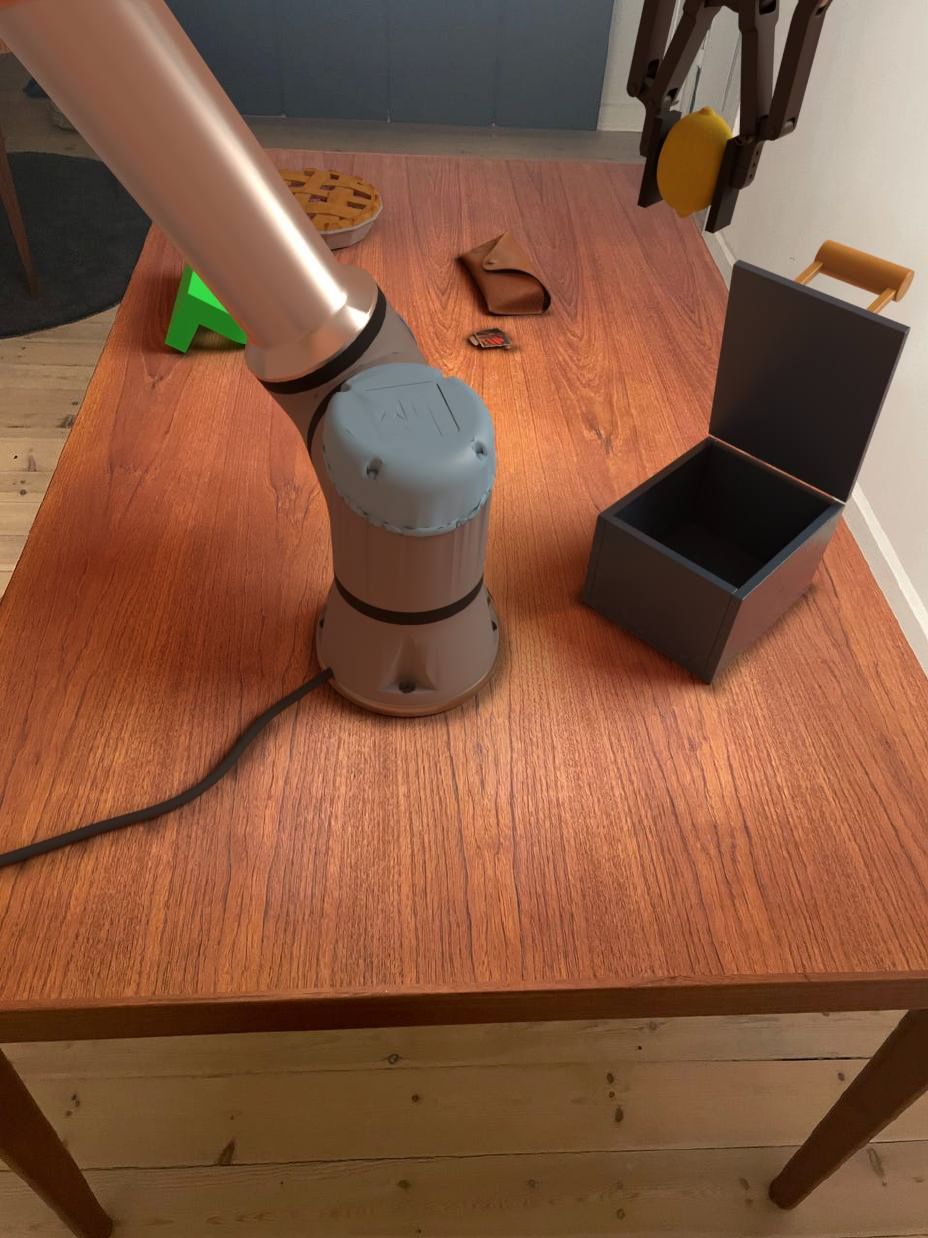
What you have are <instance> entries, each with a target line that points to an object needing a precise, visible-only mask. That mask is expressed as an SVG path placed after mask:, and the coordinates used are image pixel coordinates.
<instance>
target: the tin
mask: <svg viewBox="0 0 928 1238" xmlns="http://www.w3.org/2000/svg"><path fill="white" fill-rule="evenodd" d="M845 508H846V503H844V502H842V501H840V500H839V501H838V500H837V499H836V498H834V497H832V496H830V495H828V494H826V493H824V492H822V491H820V490H818V489H816V488H814V487H812V486H810V485H808V484H806V483H804V482H802V481H800V480H798V479H796V478H794V477H792V476H790V475H788V474H787V473H785V472H783V471H781V470H779V469H777V468H775V467H773V466H771V465H770V466H769V464H767V463H765V462H763V461H761V460H759V459H757V458H755V457H753V456H751V455H749V454H747V453H745V452H743V451H741V450H739V449H737V448H735V447H733V446H731V445H729V444H727V443H725V442H723V441H721V440H719V439H718V438H716V437H714V436H712V435H708V436H706V437H705V438H704V439H702V440H701V441H699V442H697V444H695V445H694V446H692V447H691V448H690V449H688V450H687V451H685V452H684V453H683V454H681V455H680V456H678V457H677V458H675V459H674V460H673V461H671V462H670V463H669V464H667V465H666V466H665V467H663V468H662V469H660V470H658V471H657V472H656V473H655V474H653V475H652V476H651V477H649V478H647V479H646V480H645V481H643V482H642V483H641V484H639V485H637V486H636V487H635V488H633V489H632V490H631V491H629V492H628V493H627V494H625V495H623V496H622V497H621V498H619V499H618V500H616V501H615V502H614V503H612V504H611V505H609V506H608V507H607V508H605V509H603V511H601V512H600V513H598V514H597V517H596V523H595V527H594V532H593V537H592V542H591V546H590V552H589V556H588V562H587V567H586V572H585V577H584V582H583V586H582V591H581V595H580V601H581V602H583V603H584V604H586V605H588V606H589V607H591V608H592V609H594V610H595V611H597V612H598V613H600V614H601V615H603V616H604V617H606V618H607V619H609V620H610V621H612V622H613V623H615V624H616V625H618V626H619V627H621V628H623V629H624V630H625V631H627V632H628V633H631V634H632V635H633V636H634V637H636V638H637V639H639V640H641V641H642V642H644V643H646V644H647V645H648V646H650V647H652V648H653V649H655V650H656V651H658V652H659V653H661V654H662V655H664V656H665V657H667V658H668V659H670V660H671V661H673V662H675V663H676V664H677V665H679V666H680V667H682V668H684V669H685V670H687V671H688V672H690V673H691V674H692V675H694V676H696V677H697V678H699V679H700V680H701V681H703V682H705V683H706V684H708V685H712V684H713V682H715V681H716V680H717V679H718V678H719V677H720V676H721V675H722V674H723V673H724V672H725V671H726V670H727V669H728V668H729V667H730V666H731V665H732V664H733V663H734V662H735V661H736V660H737V659H738V658H739V657H741V655H743V653H744V652H746V651H747V649H749V648H750V646H752V645H753V644H754V642H756V640H757V639H759V638H760V637H761V636H762V635H763V634H764V633H765V632H766V631H767V630H768V629H769V628H770V627H771V626H773V624H775V622H776V621H777V620H778V619H779V618H780V617H781V616H782V615H783V614H784V613H785V612H786V611H788V610H789V608H791V606H792V605H794V603H795V602H796V601H798V599H800V597H801V596H802V595H804V593H806V592H807V591H808V590H809V589H810V587H811V584H812V582H813V579H814V577H815V575H816V573H817V570H818V568H819V565H820V564H821V562H822V560H823V557H824V555H825V552H826V551H827V548H828V546H829V543H830V542H831V539H832V537H833V535H834V533H835V531H836V528H837V526H838V524H839V521H840V519H841V517H842V515H843V512H844V510H845Z"/></svg>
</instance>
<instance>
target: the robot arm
mask: <svg viewBox="0 0 928 1238" xmlns="http://www.w3.org/2000/svg"><path fill="white" fill-rule="evenodd" d="M832 2H834V0H797V3H796V5H795V7H794V10H793V13H792V16H791V20H790V23H789V27H788V32H787V36H786V40H785V43H784V48H783V51H782V56H781V60H780V63H779V64H780V65H779V69H778V73H777V76H776V81H775V86H774V64H775V42H776V41H775V40H776V39H775V38H776V26H777V25H778V22H779V18H780V0H684V3H683V5H682V15H681V17H680V20H679V22H678V24H677V26H676V28H675V31H674V34H673V35H672V38H671V40H670V43H669V45H668V47H667V43H668V39H669V35H670V30H671V27H672V21H673V17H674V13H675V10H676V9H675V8H676V5H677V0H643V5H642V9H641V13H640V14H641V15H640V19H639V24H638V29H637V33H636V38H635V43H634V48H633V53H632V58H631V63H630V67H629V68H630V69H629V73H628V76H627V77H628V78H627V82H626V89H625V90H626V93H627V95H628V96H629V97H630V98H636V99H637V100H638V101H639V102H640V103H642V105H643V106H644V110H645V115H644V121H643V126H642V130H641V131H642V132H641V137H640V142H639V147H638V149H639V156H641V157H644V158H645V164H644V168H643V173H642V178H641V184H640V189H639V192H638V193H639V194H638V199H637V204H636V206H637V207H641V208H644V209H646V208H648V207H651V206H654V205H655V204H657V203H659V202H662V201H664V199H663V198H662V196H661V194H660V191H659V188H658V182H657V166H658V160H659V156H660V153H661V150H662V147H663V144H664V142H665V140H666V138H667V136H668V134H669V132H670V130H671V129H672V127H673V126H674V125H675V124H676V123H677V122H678V121H679V120H680V119H682V114H683V112H682V111H679V110H676V109H671V107H674V106H676V105H678V104H679V103H680V100H679V99H678V97H679V94H680V92H681V90H682V87H683V85H684V83H685V81H686V79H687V77H688V75H689V72H690V70H691V68H692V66H693V64H694V62H695V59H696V57H697V56H698V53H699V51H700V49H701V47H702V44H703V42H704V40H705V38H706V36H707V34H708V32H709V29H710V27H711V25H712V23H713V20H714V18H715V17H716V16H717V15H718V14H719V13H720V11H721V10H722V8H723V7H726V8H727V9H729V10H731V11H732V12H734V13H737V15H738V16H737V27H738V30H739V32H740V35H741V39H740V40H741V41H740V43H741V44H740V80H739V81H740V87H739V130H738V133H739V134H737V135H735V136H733V138H731V139H728V140H727V143H726V147H725V151H724V155H723V159H722V163H721V167H720V171H719V175H718V179H717V183H716V187H715V191H714V195H713V199H712V203H711V205H710V206H709V210H708V215H707V219H706V222H705V228H704V231H705V232H707V233H710V234H713V235H714V234H716V233H717V232H719V231H721V230H723V229H724V228H726V227H728V226H730V225H731V223H732V220H733V216H734V212H735V209H736V205H737V202H738V198H739V194H740V191H741V190H743V189H745V188H747V187H749V186H751V184H752V183H753V181H754V180H755V177H756V173H757V170H758V165H759V162H760V159H761V156H762V152H763V149H764V145H765V143H766V141H770V142H773V141H776V140H779V139H781V138H784V137H785V136H788V135H790V134H791V133H793V132H794V131H795V130H796V128H797V126H798V122H799V117H800V113H801V109H802V106H803V102H804V99H805V94H806V92H807V91H806V90H807V86H808V83H809V79H810V75H811V72H812V68H813V64H814V61H815V56H816V53H817V49H818V46H819V41H820V37H821V34H822V30H823V26H824V22H825V18H826V14H827V11H828V10H829V8H830V7H831V5H832ZM0 39H1V40H2V41H3V43H4V44H5V45H6V46H7V47H8V49H9V50H10V51H11V52H12V53H13V54H14V56H15V58H17V60H18V61H19V62H20V63H21V64H22V66H24V68H25V69H26V70H27V71H28V73H29V74H30V75H31V76H32V78H33V79H34V80H35V81H36V82H37V84H38V85H39V87H41V89H42V90H43V91H44V92H45V93H46V95H47V96H48V97H49V98H50V99H51V100H52V101H53V103H54V104H55V106H56V107H57V108H58V109H59V110H60V112H61V113H62V114H63V115H64V116H65V118H66V119H67V120H68V121H69V122H70V124H72V126H73V128H75V130H76V131H77V132H78V133H79V135H80V136H81V137H82V138H83V139H84V141H86V143H87V144H88V146H90V148H91V149H92V150H93V151H94V153H95V154H96V155H97V156H98V157H99V159H100V160H101V161H102V162H103V163H104V165H105V166H106V167H107V168H108V169H109V171H110V172H111V173H112V174H113V176H114V177H115V178H116V180H117V181H118V182H119V183H120V184H121V185H122V186H123V188H124V189H125V190H126V192H128V194H129V195H130V196H131V198H132V199H134V201H135V203H137V205H138V206H139V207H140V208H141V209H142V211H143V212H144V213H145V214H146V215H147V217H148V218H149V219H150V220H151V222H152V223H153V224H154V225H155V226H156V228H157V229H158V230H159V231H160V232H161V234H162V235H163V236H164V237H165V238H166V240H167V241H168V242H169V243H170V245H172V247H173V248H174V249H175V251H176V252H177V253H178V254H179V255H180V256H181V258H182V259H183V260H184V261H185V263H187V264H188V265H189V266H190V267H191V268H192V270H193V271H194V272H195V273H196V274H197V276H198V277H199V278H200V279H201V281H202V282H203V283H204V284H205V285H206V287H207V288H208V289H209V290H210V291H211V293H212V294H213V295H214V296H215V297H216V299H217V300H218V301H219V302H220V303H221V305H222V306H223V307H224V308H225V310H226V311H227V312H228V313H229V314H230V316H231V317H232V318H233V319H234V320H235V322H236V323H237V324H238V325H239V326H240V328H241V329H242V330H243V331H244V333H245V334H246V335H247V340H246V344H245V347H244V361H245V365H246V367H247V369H248V370H249V371H250V373H251V374H252V375H253V376H254V377H255V378H256V380H257V381H258V382H259V383H260V384H261V385H262V387H263V388H264V389H265V390H266V392H267V393H268V394H269V395H270V397H272V399H273V400H274V401H275V402H276V403H277V405H278V406H280V408H281V409H282V411H284V412H285V413H286V415H287V417H288V418H289V419H290V420H291V421H292V422H293V424H294V426H295V427H296V429H297V430H298V432H299V434H300V436H301V439H302V441H303V443H304V446H305V449H306V451H307V454H308V456H309V459H310V462H311V465H312V468H313V471H314V473H315V476H316V478H317V482H318V484H319V487H320V489H321V491H322V494H323V496H324V500H325V504H326V508H327V512H328V513H327V514H328V518H329V519H328V520H329V525H330V539H331V540H330V542H331V554H332V568H333V579H332V581H331V584H330V587H329V589H328V593H327V595H326V598H325V603H324V604H323V606H322V608H321V611H320V613H319V615H318V616H319V617H318V621H317V623H316V624H317V625H316V632H315V635H316V636H315V644H316V645H315V646H316V656H317V660H318V664H319V667H320V670H321V672H319V673H318V674H316V675H314V676H313V677H312V678H311V679H309V680H308V681H306V682H305V683H303V684H302V685H300V686H299V687H297V688H296V689H294V690H293V691H291V692H290V693H288V694H287V695H286V696H284V697H282V698H281V699H279V700H278V701H276V702H275V703H274V704H273V705H271V706H270V707H268V709H266V710H264V712H263V713H262V714H261V715H260V716H258V717H257V718H256V720H254V722H252V723H251V725H249V727H248V728H247V729H246V730H245V731H244V733H243V734H242V735H241V736H240V738H239V739H238V740H237V742H236V743H235V744H234V746H233V747H232V748H231V750H230V751H229V752H228V754H227V755H226V756H225V757H223V759H222V760H221V762H220V763H219V764H218V765H217V766H216V768H214V769H213V770H212V771H211V772H210V773H209V774H208V775H206V776H205V777H204V778H203V779H201V780H200V781H198V783H195V784H194V785H193V786H192V787H190V788H188V789H185V791H183V792H181V793H180V794H179V793H178V794H177V795H176V796H173V797H171V798H169V799H167V800H165V801H162V802H159V803H157V804H154V805H151V806H149V807H145V808H142V809H139V810H136V811H132V812H128V813H125V814H121V815H117V816H114V817H111V818H106V819H103V820H100V821H97V822H94V823H91V824H88V825H84V826H82V827H79V828H76V829H72V830H70V831H67V832H64V833H61V834H59V835H56V836H53V837H49V838H47V839H44V840H41V841H38V842H35V843H32V844H29V845H25V846H22V847H20V848H16V849H13V850H11V851H8V852H7V851H6V852H4V853H0V868H3V867H6V866H9V865H12V864H15V863H18V862H21V861H24V860H27V859H30V858H33V857H36V856H39V855H42V854H45V853H48V852H50V851H54V850H57V849H59V848H62V847H66V846H69V845H72V844H75V843H77V842H80V841H83V840H85V839H88V838H91V837H94V836H97V835H101V834H104V833H107V832H110V831H114V830H117V829H120V828H124V827H128V826H131V825H135V824H138V823H142V822H146V821H148V820H151V819H154V818H157V817H160V816H162V815H166V814H167V813H170V812H172V811H175V810H176V809H178V808H181V807H182V806H185V805H186V804H188V803H190V802H191V801H193V800H195V799H197V798H198V797H200V796H202V794H204V793H205V792H207V791H208V790H209V789H211V788H212V787H213V786H214V785H216V784H217V783H218V782H219V781H220V780H221V779H223V777H224V776H225V775H226V774H227V773H228V772H229V771H230V769H232V768H233V766H235V763H236V762H237V761H238V760H239V759H240V756H242V754H243V753H244V752H245V750H247V748H248V746H249V745H250V744H251V742H252V741H253V740H254V738H256V737H257V735H258V734H259V733H260V732H261V731H262V730H263V729H264V728H265V727H266V725H268V724H269V723H270V722H271V721H272V720H273V719H274V718H276V717H277V716H278V715H279V714H281V713H282V712H283V711H284V710H286V709H288V708H289V707H290V706H292V705H293V704H295V703H296V702H298V701H299V700H301V699H302V698H304V697H306V696H307V695H308V694H310V693H311V692H312V691H314V690H316V689H317V688H318V687H320V686H322V685H323V684H325V683H326V682H328V683H329V684H330V686H331V687H332V688H333V689H334V690H335V691H336V692H337V693H338V694H339V695H341V696H342V697H343V698H345V699H346V700H347V701H349V702H350V703H352V704H353V705H356V706H358V707H360V708H362V709H365V710H368V711H371V712H373V713H378V714H381V715H385V716H393V717H405V718H406V717H422V716H429V715H435V714H438V713H442V712H446V711H448V710H451V709H453V708H457V707H458V706H460V705H462V704H464V703H465V702H467V701H469V700H470V699H471V698H473V697H474V696H476V695H477V694H478V693H479V692H480V691H481V690H482V689H483V688H484V687H485V686H486V684H487V683H488V682H489V680H490V679H491V677H492V676H493V673H494V672H495V669H496V667H497V664H498V660H499V652H500V644H501V643H500V642H501V637H500V626H499V621H498V618H497V614H496V613H495V612H496V611H495V609H494V607H493V604H494V606H495V607H496V609H497V604H496V602H495V599H494V597H493V596H492V593H491V592H490V590H489V589H488V586H487V585H486V583H485V580H484V576H485V575H484V574H485V565H486V557H487V556H486V555H487V545H488V537H489V528H490V527H489V526H490V517H491V508H492V507H491V506H492V500H493V499H492V497H493V490H494V489H493V488H494V485H495V479H496V477H497V466H498V457H497V454H496V452H497V451H496V450H497V447H496V432H495V425H494V422H493V418H492V415H491V413H490V411H489V409H488V407H487V405H486V403H485V402H484V400H483V399H482V398H481V396H480V395H479V394H478V393H477V391H475V390H474V389H473V388H472V387H471V386H470V385H469V384H468V383H466V382H464V381H463V379H460V378H458V377H457V376H455V375H452V376H449V377H444V373H443V371H442V370H441V369H439V368H437V367H434V366H431V365H430V364H429V362H428V361H427V359H426V358H425V356H424V354H423V351H422V350H421V349H420V347H419V344H418V341H417V338H416V337H415V335H414V333H413V331H412V329H411V328H410V326H409V325H408V323H407V322H406V320H405V318H404V317H403V316H402V315H401V314H400V313H399V312H397V311H396V310H395V309H394V307H393V306H392V304H391V302H390V301H389V299H388V298H387V296H386V295H385V293H384V291H382V289H381V288H380V286H379V284H378V282H377V281H376V280H375V278H374V277H373V275H372V274H371V273H370V272H369V271H368V270H367V269H365V268H363V267H362V266H359V265H356V264H347V263H340V262H339V261H338V259H337V258H336V256H335V255H334V253H333V252H332V249H331V250H330V249H329V247H328V246H327V244H326V243H325V241H324V240H323V238H322V237H321V235H320V234H319V232H318V231H317V229H316V228H315V226H314V225H313V223H312V222H311V220H310V219H309V217H308V216H307V214H306V213H305V211H304V210H303V208H302V207H301V205H300V204H299V202H298V201H297V199H296V198H295V196H294V195H293V193H292V192H291V190H290V189H289V187H288V186H287V184H286V183H285V181H284V180H283V178H282V177H281V175H280V174H279V172H278V169H277V168H276V166H275V165H274V164H273V162H272V160H271V159H270V157H269V156H268V155H267V153H266V151H265V150H264V148H263V147H262V145H261V144H260V143H259V141H258V139H257V138H256V137H255V135H254V134H253V132H252V131H251V128H250V127H249V126H248V124H247V123H246V122H245V120H244V119H243V117H242V115H241V114H240V112H239V110H238V109H237V108H236V106H235V105H234V103H233V101H232V100H231V99H230V97H229V96H228V95H227V93H226V91H225V90H224V88H223V87H222V86H221V84H220V83H219V81H218V79H217V78H216V77H215V75H214V74H213V72H212V70H211V69H210V68H209V66H208V65H207V63H206V62H205V60H204V59H203V57H202V55H201V54H200V53H199V52H198V50H197V48H196V47H195V45H194V43H193V42H192V41H191V39H190V38H189V36H188V35H187V33H186V31H185V30H184V29H183V27H182V25H181V24H180V22H179V21H178V20H177V18H176V17H175V15H174V13H173V12H172V11H171V9H170V8H169V6H168V5H167V4H166V2H165V0H0ZM666 48H667V49H666ZM773 88H774V89H773ZM492 603H493V604H492Z"/></svg>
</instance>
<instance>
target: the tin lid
mask: <svg viewBox="0 0 928 1238" xmlns="http://www.w3.org/2000/svg"><path fill="white" fill-rule="evenodd" d="M819 274H822V275H824V276H827V277H829V278H832V279H834V280H838V281H840V282H843V283H845V284H848V285H849V286H852V287H855V288H858V289H860V290H863V291H866V292H869V293H871V294H873V295H877V296H878V297H876V299H875V300H874V301H873V302H872V303H871V304H870V305H868V307H867V308H863V307H860V306H858V305H855V304H853V303H850V302H848V301H846V300H843V299H840V298H838V297H835V296H833V295H830V294H828V293H825V292H823V291H820V290H818V289H815V288H812V287H809V286H807V285H808V284H809V283H810V282H812V280H813V279H814V278H815V277H817V275H819ZM914 277H915V270H914V269H911V268H908V267H905V266H902V265H900V264H898V263H895V262H892V261H889V260H886V259H883V258H881V257H878V256H876V255H873V254H870V253H868V252H864V251H863V250H859V249H856V248H853V247H851V246H848V245H846V244H843V243H839V242H837V241H834V240H831V239H826V240H825V241H824V242H822V244H821V246H820V247H819V249H818V250H817V253H816V255H815V257H814V260H813V262H812V263H811V264H810V265H809V266H808V267H807V268H805V270H803V271H802V272H801V273H800V274H799V275H798V276H796V278H795V279H789V278H787V277H785V276H782V275H780V274H777V273H775V272H773V271H770V270H767V269H764V268H763V267H760V266H757V265H754V264H752V263H750V262H747V261H745V260H742V259H738V260H736V261H735V262H734V263H733V264H732V269H731V278H730V283H729V289H728V297H727V304H726V310H725V311H726V312H725V317H724V324H723V331H722V336H721V337H722V338H721V343H720V350H719V356H718V357H719V358H718V364H717V370H716V377H715V383H714V390H713V397H712V404H711V410H710V418H709V425H708V431H707V434H708V435H709V436H711V437H713V438H715V439H717V440H719V441H721V442H723V443H725V444H727V445H729V446H731V447H733V448H735V449H737V450H739V451H741V452H743V453H745V454H747V455H748V456H750V457H752V458H754V459H756V460H758V461H760V462H762V463H764V464H766V465H768V466H769V465H770V467H772V468H774V469H776V470H778V471H780V472H782V473H784V474H786V475H788V476H790V477H792V478H794V479H796V480H798V481H800V482H802V483H804V484H806V485H808V486H810V487H812V488H814V489H816V490H818V491H820V492H822V493H824V494H826V495H828V496H830V497H831V498H833V499H835V500H837V501H838V500H839V502H841V503H843V504H846V503H847V502H848V501H849V500H850V499H851V497H852V494H853V492H854V490H855V486H856V483H857V480H858V478H859V475H860V472H861V470H862V467H863V464H864V460H865V458H866V455H867V452H868V450H869V446H870V444H871V441H872V439H873V436H874V433H875V430H876V428H877V424H878V421H879V419H880V416H881V414H882V411H883V407H884V404H885V401H886V400H887V396H888V393H889V390H890V388H891V385H892V382H893V379H894V377H895V374H896V371H897V368H898V365H899V362H900V359H901V356H902V354H903V352H904V348H905V345H906V342H907V340H908V337H909V334H910V331H911V329H912V328H911V326H910V325H906V324H904V323H901V322H898V321H896V320H893V319H890V318H889V317H885V316H883V315H881V314H879V313H881V312H882V311H883V310H884V309H885V308H886V307H887V305H889V303H891V302H895V303H899V302H900V301H901V300H902V299H903V298H904V297H905V295H906V294H907V292H908V290H909V289H910V288H911V285H912V283H913V280H914Z"/></svg>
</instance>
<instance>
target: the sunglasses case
mask: <svg viewBox="0 0 928 1238" xmlns="http://www.w3.org/2000/svg"><path fill="white" fill-rule="evenodd" d="M458 257H459V259H460V260H461V261H462V263H463V264H464V265H465V266H466V268H467V269H468V271H469V273H470V275H471V276H472V277H473V280H474V281H475V283H476V285H477V287H478V289H479V292H480V293H481V295H482V297H483V299H484V301H485V305H486V308H487V310H488V312H489V313H492V314H494V315H502V316H503V315H505V316H531V315H532V316H533V315H534V316H535V315H542V314H544V313H545V312H547V311H548V310H549V308H550V307H551V305H552V295H551V293H550V291H549V289H548V288H547V286H546V284H545V282H544V281H543V279H542V278H541V276H540V274H539V272H538V271H537V269H536V267H535V265H534V264H533V263H532V261H531V260H530V258H529V257H528V255H527V254H526V252H525V251H524V249H523V248H522V246H521V245H520V243H518V241H517V239H515V238H514V236H513V233H511V231H510V230H509V229H505V231H504V233H503V234H500V235H499V236H496V237H495V238H493V239H490V240H489V241H486V242H485V243H482V244H480V245H477V246H476V247H474V248H473V249H470V250H469V251H467V252H465V253H463V254H460V255H458Z"/></svg>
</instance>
